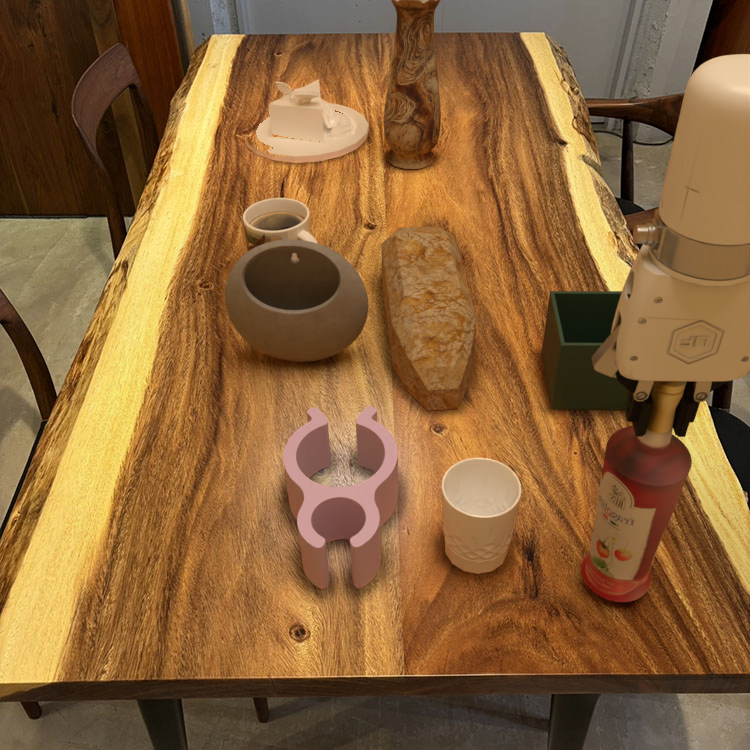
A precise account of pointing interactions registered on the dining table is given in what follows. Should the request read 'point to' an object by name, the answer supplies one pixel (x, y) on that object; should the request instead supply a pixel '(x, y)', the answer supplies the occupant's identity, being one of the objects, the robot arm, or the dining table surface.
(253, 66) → the dining table surface
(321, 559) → the clip
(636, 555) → the liquor
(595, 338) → the green square box
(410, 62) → the vase
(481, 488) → the white cup
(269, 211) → the mug
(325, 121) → the dish
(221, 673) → the dining table surface
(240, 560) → the dining table surface
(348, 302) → the planter
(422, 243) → the bread
